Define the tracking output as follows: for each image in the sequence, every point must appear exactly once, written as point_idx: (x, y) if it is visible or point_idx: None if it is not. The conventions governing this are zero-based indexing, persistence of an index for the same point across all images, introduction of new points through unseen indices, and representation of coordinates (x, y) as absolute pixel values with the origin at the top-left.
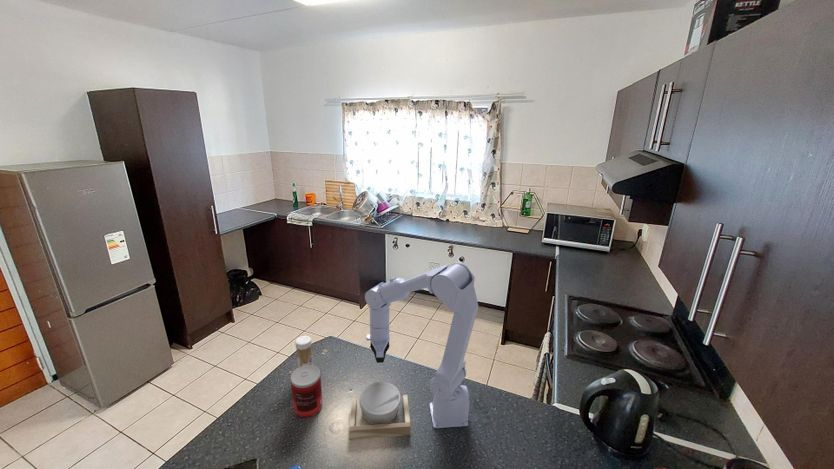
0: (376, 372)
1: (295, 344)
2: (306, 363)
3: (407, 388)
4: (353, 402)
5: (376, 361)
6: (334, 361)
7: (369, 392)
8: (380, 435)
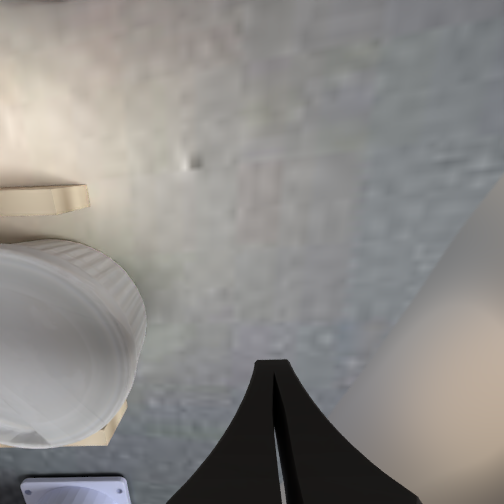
0: (310, 286)
1: None
2: None
3: (203, 411)
4: (19, 199)
5: (255, 365)
6: (446, 14)
7: (34, 303)
8: None
